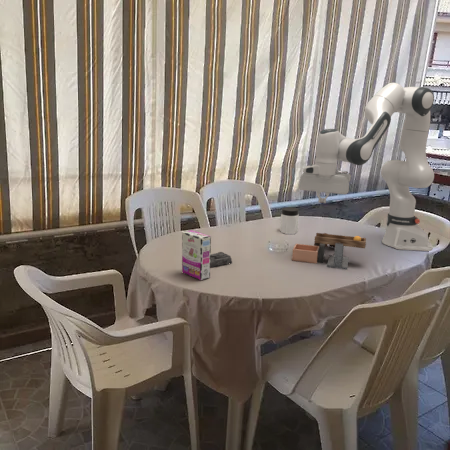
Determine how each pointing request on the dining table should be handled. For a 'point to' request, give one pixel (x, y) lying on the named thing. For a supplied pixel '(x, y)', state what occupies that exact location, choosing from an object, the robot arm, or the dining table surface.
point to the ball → (357, 238)
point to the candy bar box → (196, 254)
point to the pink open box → (305, 253)
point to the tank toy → (219, 259)
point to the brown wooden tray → (339, 240)
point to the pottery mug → (325, 244)
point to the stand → (334, 257)
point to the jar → (289, 220)
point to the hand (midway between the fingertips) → (322, 202)
